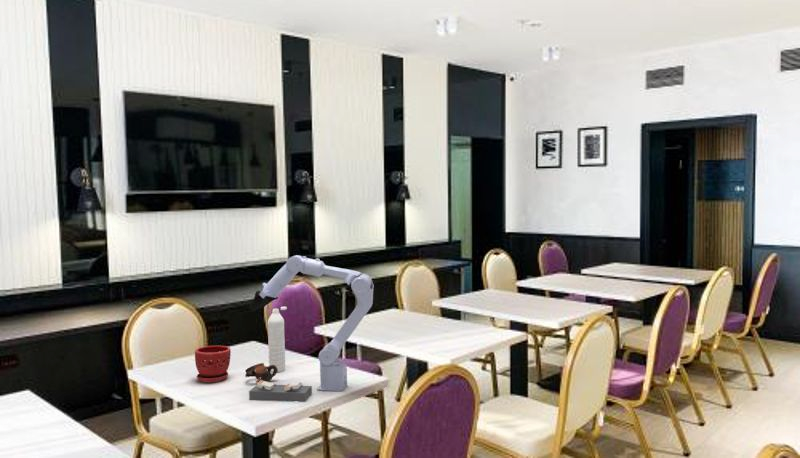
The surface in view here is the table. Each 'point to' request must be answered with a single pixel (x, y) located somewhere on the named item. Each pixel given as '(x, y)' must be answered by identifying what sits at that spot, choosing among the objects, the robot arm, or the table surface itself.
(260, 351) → the table surface
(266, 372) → the pottery mug
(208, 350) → the plant pot
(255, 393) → the power strip
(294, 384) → the block
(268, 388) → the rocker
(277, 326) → the water bottle
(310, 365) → the table surface
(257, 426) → the table surface
